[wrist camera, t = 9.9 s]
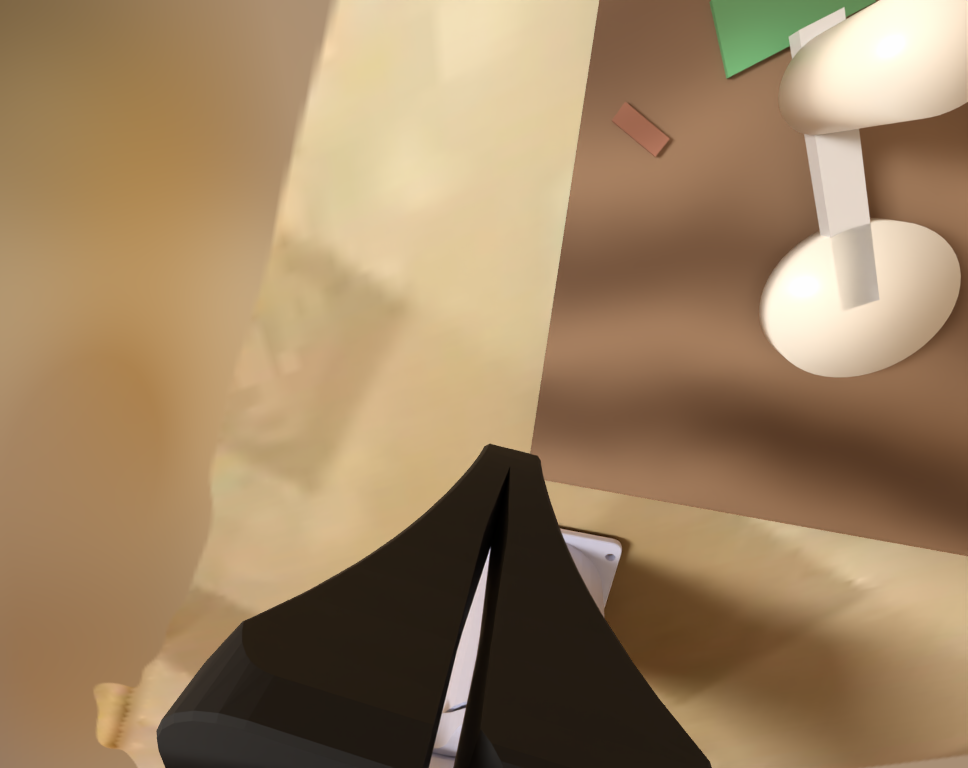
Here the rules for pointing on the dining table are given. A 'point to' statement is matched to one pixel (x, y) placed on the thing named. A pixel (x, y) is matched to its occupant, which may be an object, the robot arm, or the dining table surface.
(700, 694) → the dining table surface
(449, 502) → the robot arm
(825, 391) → the board
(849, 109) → the peg
